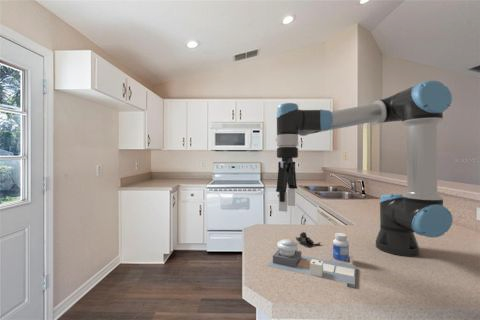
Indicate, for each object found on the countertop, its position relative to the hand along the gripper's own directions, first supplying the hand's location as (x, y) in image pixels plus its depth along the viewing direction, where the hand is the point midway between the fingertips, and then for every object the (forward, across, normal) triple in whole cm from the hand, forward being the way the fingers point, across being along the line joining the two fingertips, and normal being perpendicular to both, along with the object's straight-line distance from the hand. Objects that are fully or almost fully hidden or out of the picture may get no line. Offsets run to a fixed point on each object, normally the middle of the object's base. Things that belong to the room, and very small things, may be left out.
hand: (287, 208), depth 85 cm
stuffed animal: (+20, -21, +1) cm, 29 cm away
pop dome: (+17, 0, 0) cm, 17 cm away
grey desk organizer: (+20, 0, +8) cm, 22 cm away
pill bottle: (+20, -11, +17) cm, 28 cm away
